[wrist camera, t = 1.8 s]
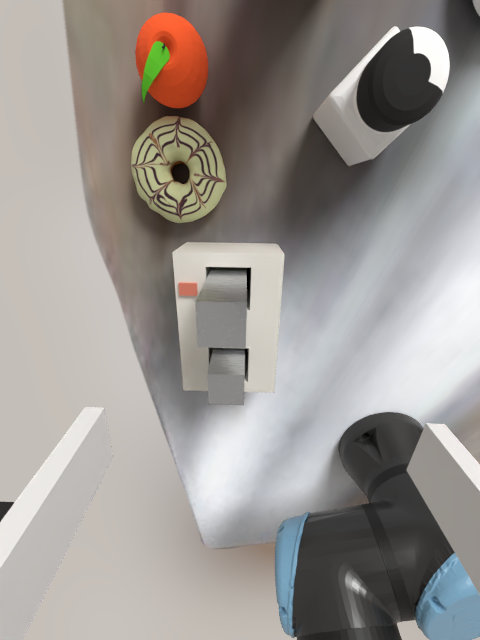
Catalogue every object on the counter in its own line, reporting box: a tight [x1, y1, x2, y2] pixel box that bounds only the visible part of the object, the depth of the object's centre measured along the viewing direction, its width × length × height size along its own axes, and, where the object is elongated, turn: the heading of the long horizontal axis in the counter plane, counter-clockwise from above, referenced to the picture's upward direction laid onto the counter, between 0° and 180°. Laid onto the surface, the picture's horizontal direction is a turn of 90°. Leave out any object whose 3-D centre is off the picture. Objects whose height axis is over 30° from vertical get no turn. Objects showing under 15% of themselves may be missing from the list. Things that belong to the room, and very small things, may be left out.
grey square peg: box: [207, 348, 245, 405], centre depth 37 cm, size 4×4×13 cm
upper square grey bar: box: [195, 267, 247, 348], centre depth 31 cm, size 4×4×18 cm
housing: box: [172, 242, 285, 393], centre depth 37 cm, size 12×18×8 cm, turn 179°
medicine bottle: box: [313, 27, 450, 166], centre depth 27 cm, size 7×7×12 cm
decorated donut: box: [131, 116, 227, 223], centre depth 33 cm, size 10×11×4 cm
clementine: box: [135, 13, 208, 109], centre depth 28 cm, size 8×7×7 cm
